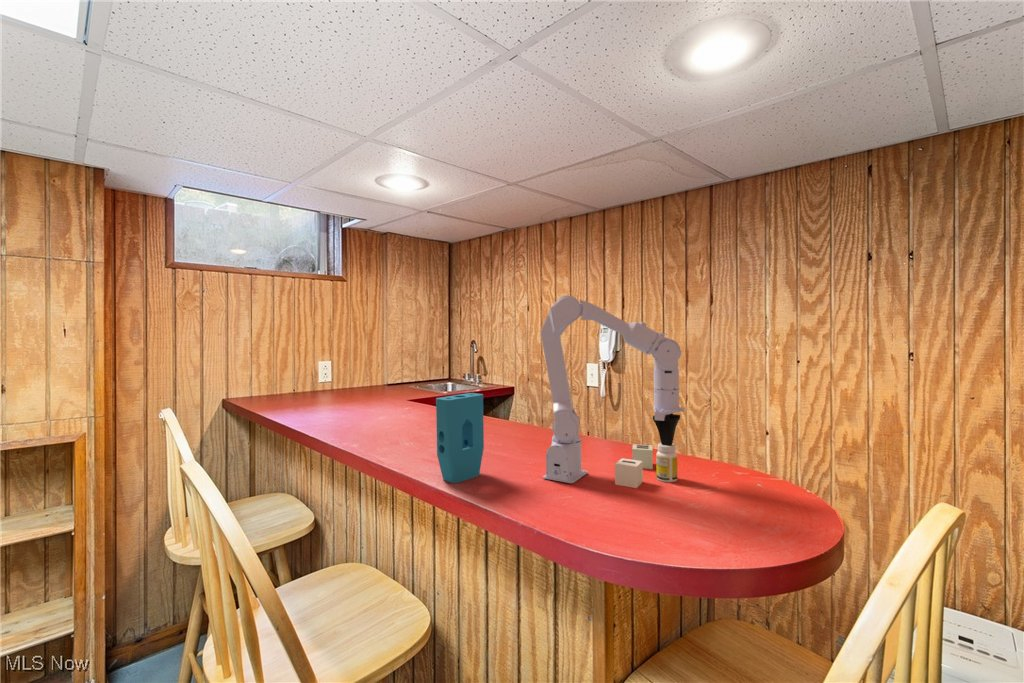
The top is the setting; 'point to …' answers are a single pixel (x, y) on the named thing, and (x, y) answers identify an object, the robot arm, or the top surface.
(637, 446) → the numbered block two
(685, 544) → the top surface
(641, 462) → the numbered block one
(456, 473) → the block
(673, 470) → the supplement bottle
